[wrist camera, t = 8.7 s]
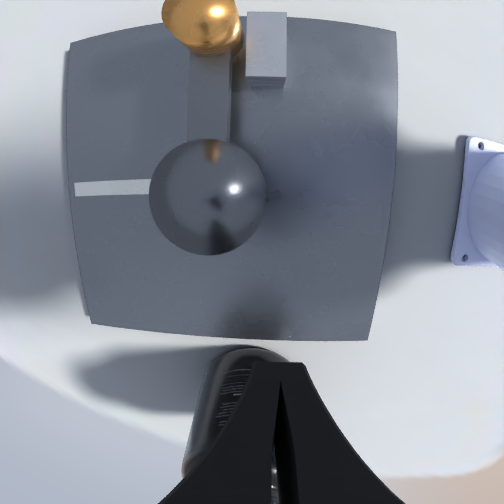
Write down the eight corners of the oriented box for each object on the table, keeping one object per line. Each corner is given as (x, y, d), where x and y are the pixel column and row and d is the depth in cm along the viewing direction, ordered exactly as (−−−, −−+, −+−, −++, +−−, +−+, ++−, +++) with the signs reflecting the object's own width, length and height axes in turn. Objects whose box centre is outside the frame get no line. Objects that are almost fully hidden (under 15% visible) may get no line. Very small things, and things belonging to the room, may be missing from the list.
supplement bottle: (188, 386, 22) (146, 529, 11) (237, 326, 20) (206, 501, 9) (265, 423, 23) (258, 559, 12) (321, 372, 21) (344, 530, 10)
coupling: (263, 246, 15) (260, 285, 11) (162, 241, 15) (129, 275, 11) (272, 17, 11) (273, -23, 7) (166, 21, 11) (132, -11, 8)
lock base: (389, 36, 13) (418, 14, 10) (363, 331, 20) (379, 370, 16) (78, 46, 14) (40, 33, 10) (97, 316, 20) (70, 348, 17)
